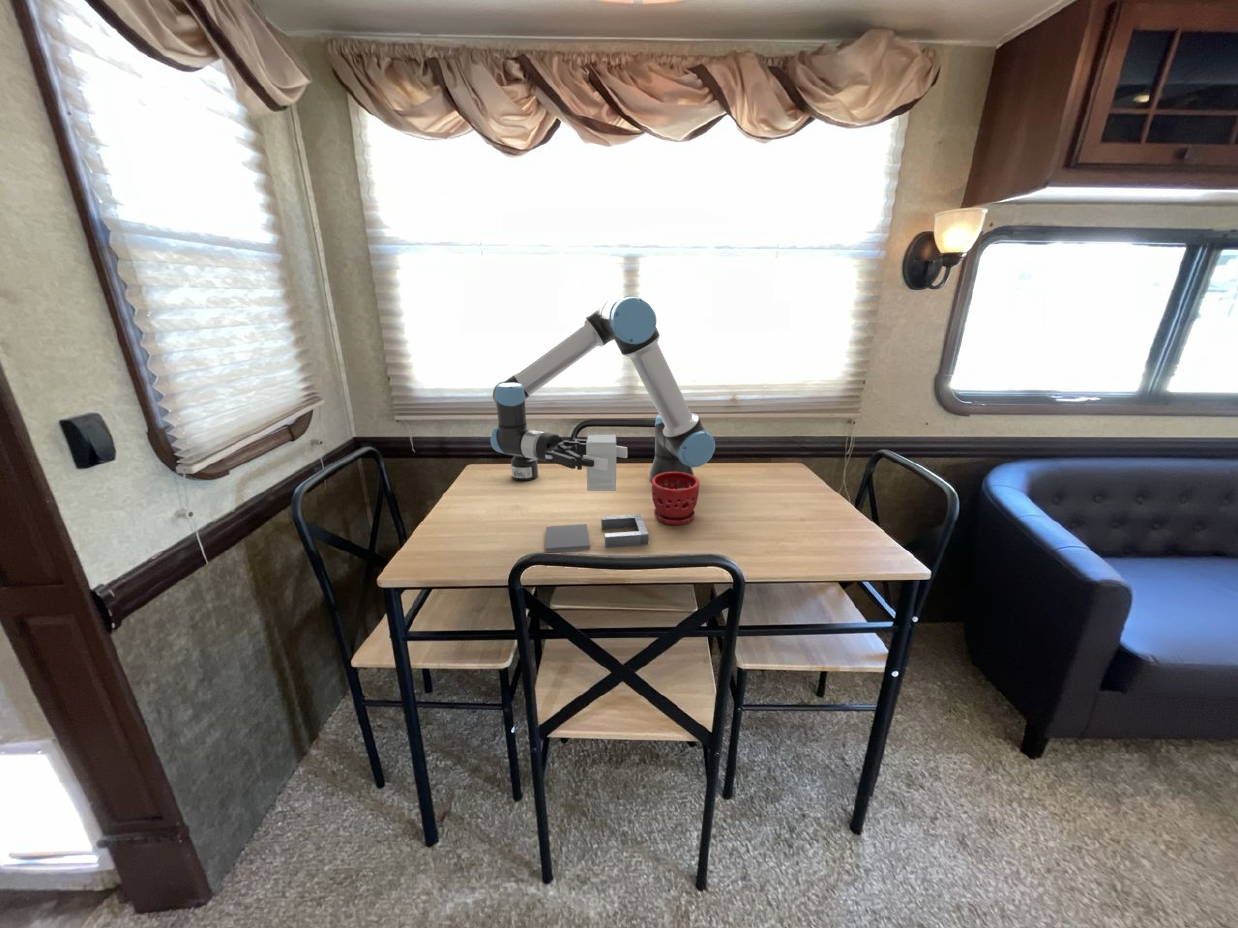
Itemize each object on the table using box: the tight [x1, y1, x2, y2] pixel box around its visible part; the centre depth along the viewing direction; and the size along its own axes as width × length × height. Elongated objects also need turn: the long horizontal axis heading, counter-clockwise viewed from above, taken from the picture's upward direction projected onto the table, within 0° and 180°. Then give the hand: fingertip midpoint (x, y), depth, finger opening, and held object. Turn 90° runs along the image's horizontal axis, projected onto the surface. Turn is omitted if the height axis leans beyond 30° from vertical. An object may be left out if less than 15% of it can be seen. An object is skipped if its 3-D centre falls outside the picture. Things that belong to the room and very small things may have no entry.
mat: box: [545, 523, 591, 553], centre depth 129 cm, size 11×12×1 cm
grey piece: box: [600, 513, 649, 549], centre depth 130 cm, size 11×12×3 cm
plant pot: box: [651, 472, 700, 526], centre depth 138 cm, size 13×13×12 cm
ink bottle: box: [510, 455, 539, 482], centre depth 171 cm, size 10×9×12 cm
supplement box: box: [585, 434, 617, 492], centre depth 123 cm, size 7×7×13 cm
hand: (617, 458), depth 121 cm, fingers closed on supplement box, 9 cm apart
